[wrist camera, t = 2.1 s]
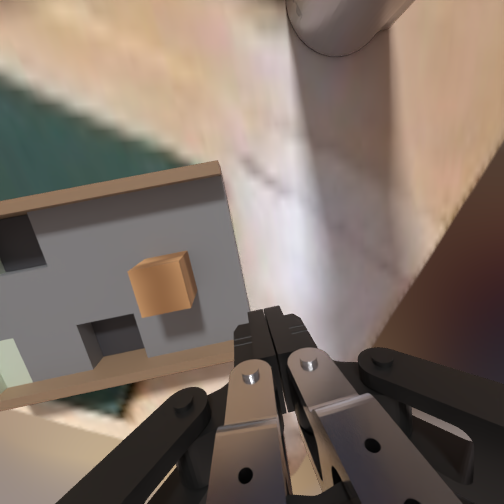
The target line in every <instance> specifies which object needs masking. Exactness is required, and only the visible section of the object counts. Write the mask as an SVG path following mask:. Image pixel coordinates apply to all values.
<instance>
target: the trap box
mask: <svg viewBox="0 0 504 504" xmlns="http://www.w3.org/2000/svg"><path fill="white" fill-rule="evenodd" d="M21 215H22V216H21ZM16 216H17V217H16ZM11 217H12V218H11ZM0 219H1V220H0V411H4V410H9V409H13V408H18V407H23V406H27V405H32V404H37V403H41V402H46V401H50V400H55V399H60V398H64V397H69V396H74V395H78V394H83V393H87V392H92V391H97V390H101V389H106V388H111V387H115V386H120V385H124V384H129V383H134V382H138V381H143V380H148V379H152V378H157V377H161V376H166V375H171V374H175V373H180V372H185V371H189V370H194V369H199V368H203V367H208V366H212V365H217V364H222V363H226V362H231V361H234V331H235V329H236V327H237V326H238V325H241V324H246V323H249V320H248V314H247V312H250V308H249V303H248V298H247V294H246V289H245V284H244V279H243V274H242V269H241V265H240V260H239V255H238V250H237V245H236V240H235V236H234V231H233V226H232V221H231V216H230V211H229V207H228V202H227V197H226V192H225V187H224V182H223V178H222V173H221V168H220V165H219V162H218V160H217V161H211V162H206V163H201V164H195V165H190V166H185V167H180V168H174V169H169V170H164V171H158V172H153V173H148V174H142V175H137V176H132V177H126V178H121V179H116V180H111V181H105V182H100V183H95V184H89V185H84V186H79V187H73V188H68V189H63V190H57V191H52V192H47V193H42V194H36V195H31V196H26V197H20V198H15V199H10V200H4V201H0ZM182 251H188V254H189V258H190V262H191V266H192V270H193V274H194V278H195V282H196V286H197V293H196V296H195V298H194V301H193V304H192V307H191V308H188V309H184V310H179V311H174V312H169V313H164V314H160V315H155V316H150V317H145V318H142V316H141V313H140V310H139V307H138V304H137V301H136V297H135V294H134V291H133V288H132V285H131V282H130V278H129V275H128V272H127V271H129V270H130V269H132V268H133V267H134V266H136V265H137V264H138V263H140V262H141V261H143V260H144V259H147V258H152V257H157V256H162V255H167V254H172V253H177V252H182Z"/></svg>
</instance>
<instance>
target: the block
mask: <svg viewBox="0 0 504 504" xmlns="http://www.w3.org/2000/svg"><path fill="white" fill-rule="evenodd" d="M127 272H128V275H129V278H130V282H131V285H132V288H133V291H134V294H135V297H136V301H137V304H138V307H139V310H140V313H141V316H142V318H145V317H150V316H155V315H160V314H164V313H169V312H174V311H179V310H184V309H188V308H191V307H192V304H193V301H194V298H195V296H196V293H197V286H196V282H195V278H194V274H193V270H192V266H191V262H190V258H189V254H188V251H182V252H177V253H172V254H167V255H162V256H157V257H152V258H147V259H144V260H143V261H141V262H140V263H138V264H137V265H136V266H134V267H133V268H132V269H130V270H129V271H127Z"/></svg>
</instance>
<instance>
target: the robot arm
mask: <svg viewBox="0 0 504 504" xmlns="http://www.w3.org/2000/svg"><path fill="white" fill-rule="evenodd" d="M414 1H415V0H286V6H287V11H288V15H289V19H290V21H291V24H292V26H293V28H294V30H295V32H296V33H297V35H298V36H299V38H300V39H301V40H302V41H303V42H304V43H305V44H306V45H307V46H308V47H310V48H311V49H313V50H314V51H316V52H318V53H321V54H324V55H327V56H344V55H349V54H351V53H353V52H355V51H358V50H359V49H361V48H362V47H363V46H365V45H366V44H367V43H368V42H369V41H370V40H371V39H372V38H373V37H374V36H375V34H376V33H377V32H378V31H381V30H384V29H388V28H390V27H391V26H392V24H393V23H394V22H395V21H396V20H397V19H398V18H399V17H400V16H401V15H402V14H403V13H404V12H405V11H406V10H407V9H408V7H409V6H410V5H411V4H412V3H413V2H414ZM247 314H248V320H249V323H246V324H241V325H238V326H237V327H236V329H235V331H234V369H233V370H232V371H231V373H230V377H229V382H228V383H227V384H226V385H225V386H224V387H222V388H221V389H219V390H217V391H215V392H213V393H211V394H209V395H207V394H206V392H205V391H204V390H203V389H201V388H198V387H189V388H185V389H182V390H180V391H178V392H176V393H175V394H173V395H172V396H171V397H169V398H168V399H167V400H166V401H165V402H164V403H163V404H162V405H161V406H160V407H159V408H158V409H156V410H155V411H154V412H153V413H152V414H151V415H150V416H149V417H148V418H147V419H146V420H145V421H144V422H143V423H141V424H140V425H139V426H138V427H137V428H136V429H135V430H134V431H133V432H132V433H131V434H130V435H129V436H127V437H126V438H125V439H124V440H123V441H122V442H121V443H120V444H119V445H118V446H117V447H116V448H115V449H114V450H112V451H111V452H110V453H109V454H108V455H107V456H106V457H105V458H104V459H103V460H102V461H101V462H100V463H99V464H98V465H96V466H95V467H94V468H93V469H92V470H91V471H90V472H89V473H88V474H87V475H86V476H85V477H83V478H82V479H81V480H80V481H79V482H78V483H77V484H76V485H75V486H74V487H73V488H72V489H71V490H70V491H68V493H66V494H65V495H64V496H63V497H62V498H61V499H60V500H59V501H58V502H57V503H56V504H144V503H145V501H146V500H147V498H148V497H149V496H150V494H151V493H152V492H153V491H154V490H155V488H156V487H157V486H158V485H159V483H160V482H161V481H162V480H163V479H164V477H165V476H166V475H167V474H168V472H169V471H170V470H171V469H172V468H173V466H174V465H175V464H176V466H177V467H176V468H175V469H174V471H173V472H172V473H171V475H170V476H169V477H168V478H167V480H166V481H165V482H164V483H163V484H162V486H161V487H160V488H159V489H158V491H157V492H156V493H155V494H154V495H153V497H152V498H151V500H150V501H149V502H148V503H147V504H504V384H502V383H498V382H495V381H492V380H489V379H486V378H482V377H479V376H476V375H472V374H469V373H466V372H462V371H460V370H456V369H453V368H450V367H447V366H443V365H440V364H437V363H433V362H430V361H427V360H424V359H421V358H417V357H414V356H411V355H408V354H404V353H401V352H398V351H394V350H391V349H387V348H379V347H377V348H369V349H366V350H364V351H362V352H361V353H360V354H359V356H358V362H339V361H334V360H332V359H331V358H330V357H329V355H328V354H327V353H326V352H324V351H323V350H320V349H318V348H317V346H316V344H315V342H314V341H313V339H312V337H311V336H310V334H309V332H308V331H307V329H306V327H305V326H304V323H303V322H302V320H301V318H300V317H298V316H296V315H294V314H288V315H283V313H282V311H281V309H280V306H274V307H270V308H265V309H264V312H263V309H260V310H256V311H251V312H247ZM264 314H265V316H264ZM283 394H284V396H283ZM284 398H285V402H286V405H287V409H288V412H293V411H295V413H296V416H297V420H298V426H299V431H300V435H301V437H302V440H303V443H304V445H305V448H306V450H307V453H308V456H309V458H310V461H311V463H312V466H313V469H314V471H315V474H316V476H317V479H318V482H319V484H320V486H321V490H322V492H323V493H321V494H319V495H316V496H303V495H302V496H301V495H293V493H292V486H291V479H290V472H289V465H288V458H287V451H286V444H285V437H284V432H283V431H284V422H283V416H282V414H284V413H286V407H285V402H284ZM412 407H413V408H416V409H418V410H420V411H423V412H425V413H427V414H429V415H432V416H434V417H436V418H438V419H441V420H443V421H445V422H448V423H450V424H452V425H454V426H456V427H458V428H460V429H461V430H463V431H464V432H465V433H466V434H467V435H468V436H469V437H470V438H471V440H472V441H473V442H471V441H468V440H465V439H463V438H460V437H458V436H456V435H454V434H452V433H450V432H448V431H445V430H443V429H441V428H439V427H437V426H435V425H432V424H430V423H428V422H426V421H423V420H421V419H419V418H417V417H415V416H413V415H412Z"/></svg>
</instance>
